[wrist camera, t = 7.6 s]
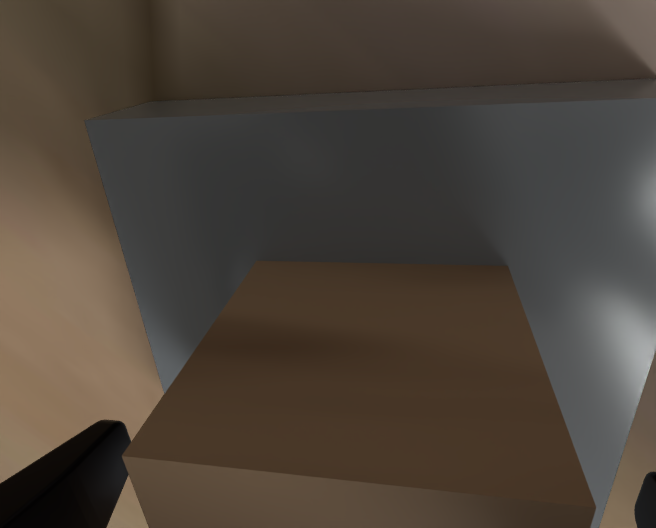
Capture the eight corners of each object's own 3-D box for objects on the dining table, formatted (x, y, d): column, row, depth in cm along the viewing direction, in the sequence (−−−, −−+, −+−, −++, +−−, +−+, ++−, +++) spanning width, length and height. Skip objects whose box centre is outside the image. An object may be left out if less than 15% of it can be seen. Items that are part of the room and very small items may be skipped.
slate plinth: (565, 465, 14) (592, 547, 12) (225, 433, 16) (195, 497, 14) (660, 77, 9) (736, 95, 7) (150, 101, 11) (84, 120, 9)
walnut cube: (485, 451, 11) (527, 734, 7) (282, 433, 12) (203, 670, 8) (508, 265, 9) (596, 508, 4) (256, 261, 10) (121, 455, 5)
